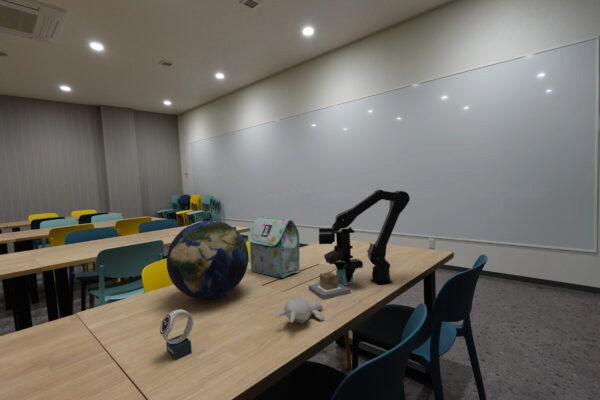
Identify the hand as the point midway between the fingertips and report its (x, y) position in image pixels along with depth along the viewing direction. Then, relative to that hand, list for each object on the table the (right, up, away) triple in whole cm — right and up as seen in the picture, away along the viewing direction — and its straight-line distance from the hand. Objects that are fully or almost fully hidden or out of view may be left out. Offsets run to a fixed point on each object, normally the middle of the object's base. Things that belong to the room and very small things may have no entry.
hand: (344, 280), depth 124 cm
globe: (-53, -4, -9) cm, 54 cm away
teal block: (0, -1, 0) cm, 1 cm away
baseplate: (-7, -2, -9) cm, 12 cm away
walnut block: (-8, 0, -9) cm, 12 cm away
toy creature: (-18, -4, -33) cm, 37 cm away
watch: (-51, -7, -47) cm, 69 cm away
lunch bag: (-31, -2, +19) cm, 36 cm away
